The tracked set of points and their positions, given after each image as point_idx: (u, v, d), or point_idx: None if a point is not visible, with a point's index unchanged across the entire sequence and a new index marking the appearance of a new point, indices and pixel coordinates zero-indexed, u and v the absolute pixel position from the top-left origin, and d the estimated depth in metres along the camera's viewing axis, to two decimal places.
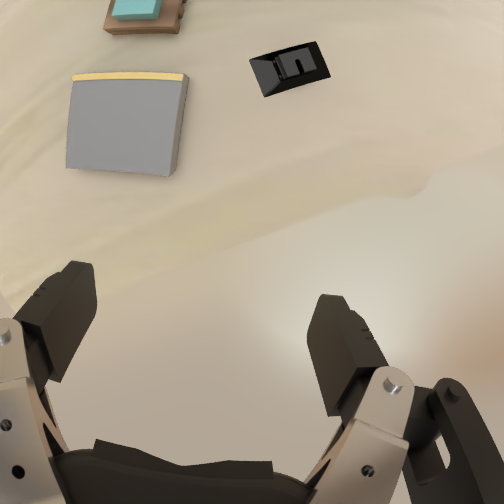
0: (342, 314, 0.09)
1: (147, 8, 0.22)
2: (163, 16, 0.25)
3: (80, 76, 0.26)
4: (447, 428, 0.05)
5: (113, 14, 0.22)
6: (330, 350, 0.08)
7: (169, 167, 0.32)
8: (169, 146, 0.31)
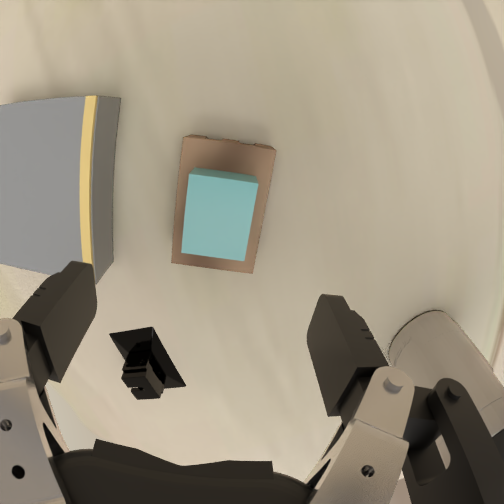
0: (342, 314, 0.09)
1: (192, 243, 0.18)
2: None
3: (90, 112, 0.16)
4: (447, 428, 0.05)
5: (191, 177, 0.17)
6: (330, 350, 0.08)
7: (0, 262, 0.20)
8: (16, 264, 0.20)
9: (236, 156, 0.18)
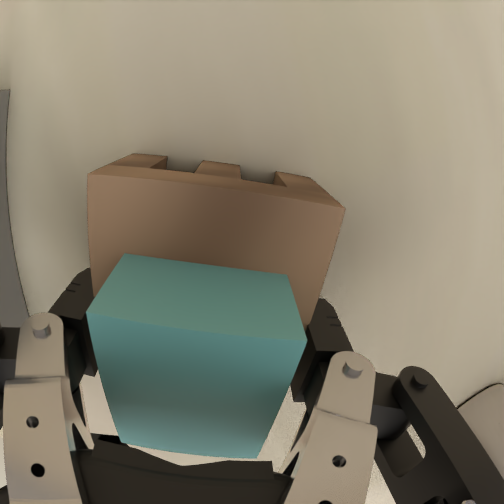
0: None
1: (140, 436, 0.07)
2: None
3: None
4: (417, 419, 0.05)
5: (94, 322, 0.05)
6: None
7: None
8: None
9: (234, 225, 0.07)
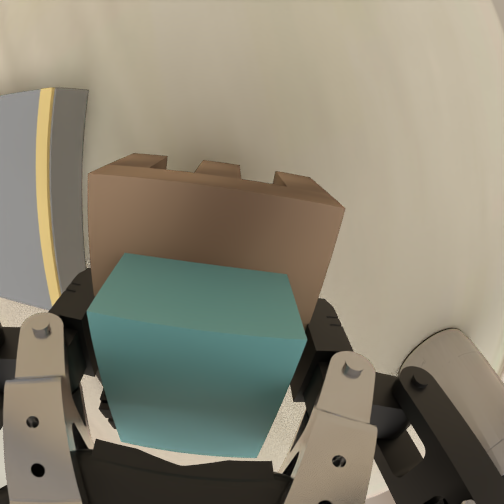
0: None
1: (140, 435, 0.07)
2: None
3: (45, 109, 0.11)
4: (417, 419, 0.05)
5: (95, 321, 0.05)
6: None
7: None
8: None
9: (234, 224, 0.07)
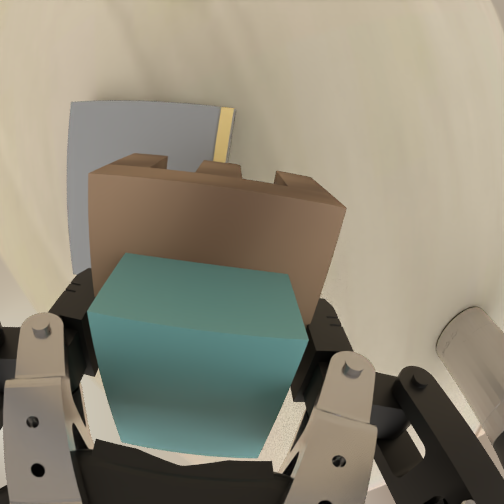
0: None
1: (140, 435, 0.07)
2: None
3: (226, 125, 0.18)
4: (417, 419, 0.05)
5: (95, 321, 0.05)
6: None
7: None
8: None
9: (235, 224, 0.07)
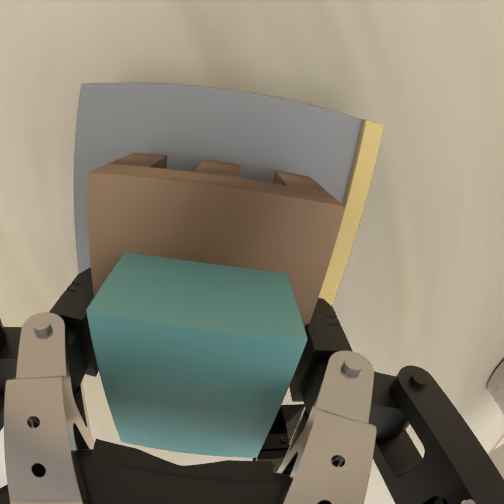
0: None
1: (140, 435, 0.07)
2: None
3: (371, 151, 0.10)
4: (416, 419, 0.05)
5: (95, 320, 0.05)
6: None
7: None
8: None
9: (234, 223, 0.07)
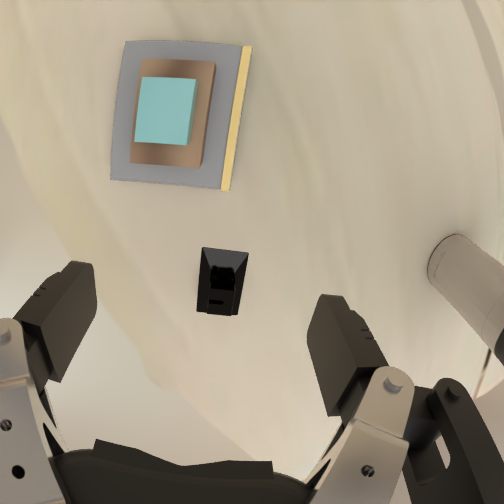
0: (342, 314, 0.09)
1: (143, 132, 0.20)
2: (146, 146, 0.22)
3: (246, 57, 0.22)
4: (447, 428, 0.05)
5: (143, 79, 0.18)
6: (330, 350, 0.08)
7: (119, 179, 0.27)
8: (142, 178, 0.27)
9: (182, 68, 0.20)
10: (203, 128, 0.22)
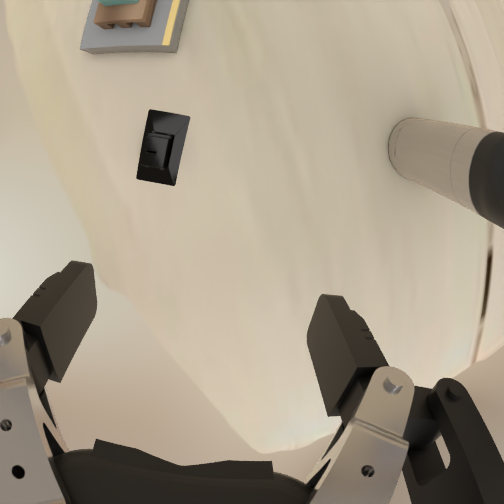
0: (342, 314, 0.09)
1: None
2: (106, 10, 0.21)
3: None
4: (447, 428, 0.05)
5: None
6: (330, 350, 0.08)
7: (86, 47, 0.25)
8: (103, 44, 0.25)
9: None
10: None
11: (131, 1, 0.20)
